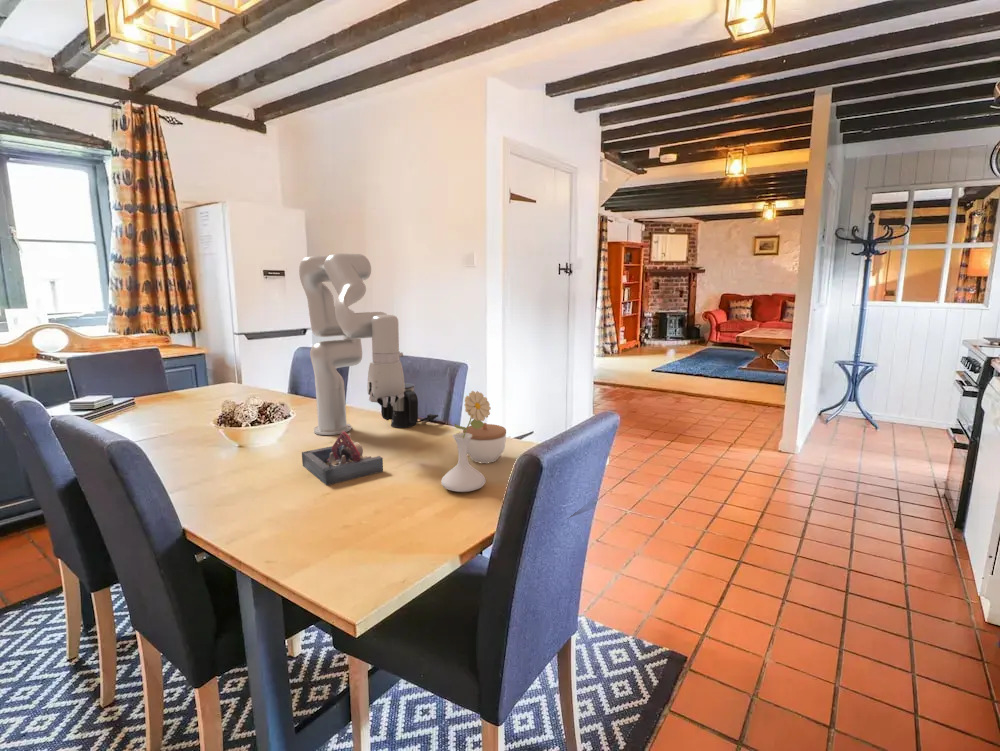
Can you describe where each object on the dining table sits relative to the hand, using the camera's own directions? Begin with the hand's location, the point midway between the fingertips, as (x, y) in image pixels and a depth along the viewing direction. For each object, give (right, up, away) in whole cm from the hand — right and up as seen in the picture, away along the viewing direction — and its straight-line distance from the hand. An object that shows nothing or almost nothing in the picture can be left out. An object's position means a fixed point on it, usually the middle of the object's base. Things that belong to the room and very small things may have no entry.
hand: (387, 418), depth 160 cm
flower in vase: (+25, -16, -21) cm, 36 cm away
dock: (-10, -13, -7) cm, 18 cm away
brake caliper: (-10, -14, -8) cm, 18 cm away
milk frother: (+2, -5, +38) cm, 39 cm away
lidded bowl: (+29, -12, -1) cm, 31 cm away
